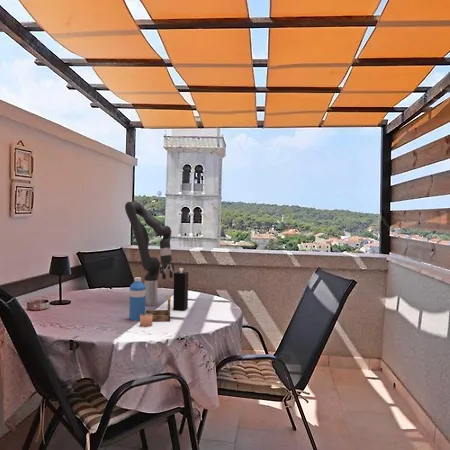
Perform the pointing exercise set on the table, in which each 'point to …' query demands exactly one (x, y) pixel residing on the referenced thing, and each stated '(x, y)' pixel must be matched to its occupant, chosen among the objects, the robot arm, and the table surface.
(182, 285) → the black square pillar
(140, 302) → the water bottle
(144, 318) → the clay pot
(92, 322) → the table surface
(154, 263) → the robot arm
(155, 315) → the brown wooden frame
